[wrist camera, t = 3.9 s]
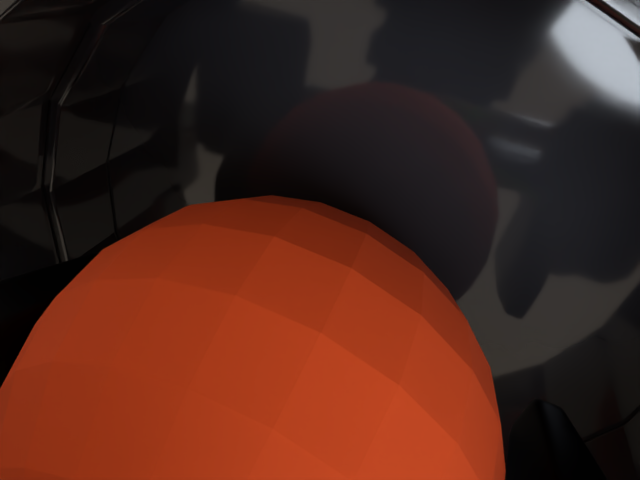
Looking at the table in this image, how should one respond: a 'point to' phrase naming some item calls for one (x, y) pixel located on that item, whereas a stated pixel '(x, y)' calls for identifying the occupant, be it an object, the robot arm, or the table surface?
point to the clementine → (252, 358)
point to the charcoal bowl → (362, 157)
